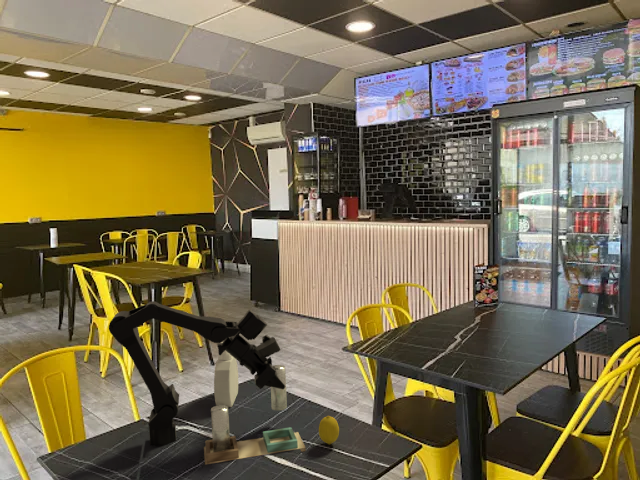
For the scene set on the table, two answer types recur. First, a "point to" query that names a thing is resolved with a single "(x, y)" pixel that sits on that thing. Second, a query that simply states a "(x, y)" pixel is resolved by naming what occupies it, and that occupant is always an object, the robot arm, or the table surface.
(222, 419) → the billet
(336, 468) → the table surface
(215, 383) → the soap bottle
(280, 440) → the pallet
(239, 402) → the table surface
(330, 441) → the lemon
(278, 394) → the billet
